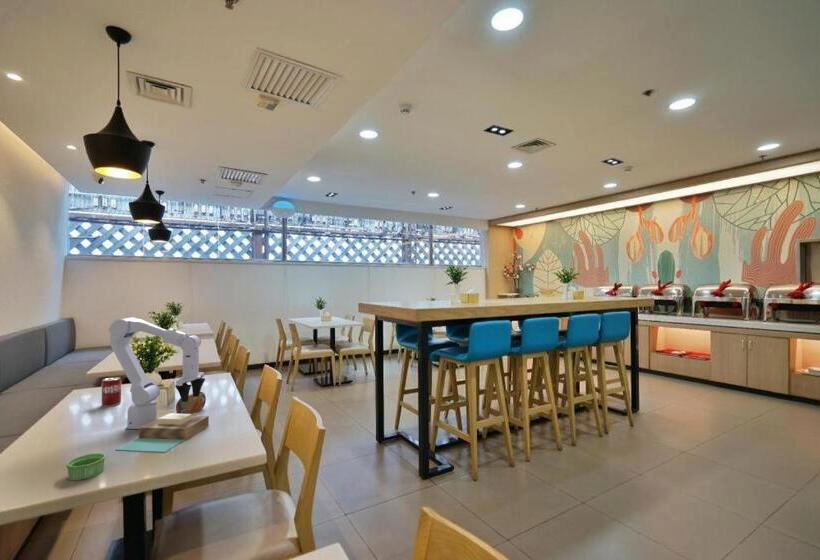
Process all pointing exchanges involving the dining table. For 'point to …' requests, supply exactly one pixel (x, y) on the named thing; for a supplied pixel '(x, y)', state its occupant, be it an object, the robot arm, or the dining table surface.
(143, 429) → the wooden block
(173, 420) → the cream bevelled block
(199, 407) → the tin
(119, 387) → the soda can
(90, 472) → the ramekin
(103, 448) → the dining table surface
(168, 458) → the dining table surface
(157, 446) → the mat
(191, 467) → the dining table surface
